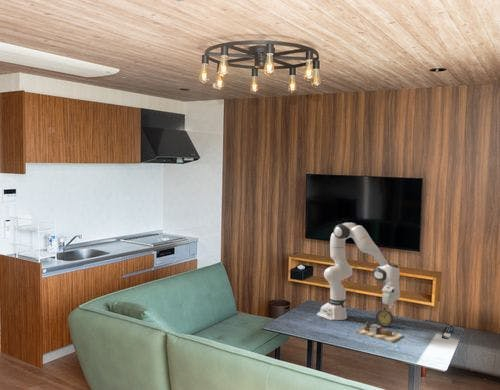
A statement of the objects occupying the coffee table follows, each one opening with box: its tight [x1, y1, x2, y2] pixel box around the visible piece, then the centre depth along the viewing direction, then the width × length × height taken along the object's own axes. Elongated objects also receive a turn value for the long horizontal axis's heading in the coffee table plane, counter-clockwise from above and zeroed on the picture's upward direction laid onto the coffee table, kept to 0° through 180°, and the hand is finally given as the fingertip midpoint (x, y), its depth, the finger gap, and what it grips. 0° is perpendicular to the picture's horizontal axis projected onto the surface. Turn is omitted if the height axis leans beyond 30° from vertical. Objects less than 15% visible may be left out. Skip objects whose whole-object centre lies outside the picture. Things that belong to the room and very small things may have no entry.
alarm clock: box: [375, 304, 394, 328], centre depth 335 cm, size 11×5×16 cm, turn 62°
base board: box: [356, 327, 404, 344], centre depth 318 cm, size 26×15×1 cm, turn 49°
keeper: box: [369, 323, 382, 334], centre depth 320 cm, size 5×6×4 cm
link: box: [363, 321, 393, 336], centre depth 319 cm, size 19×4×5 cm, turn 48°
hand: (391, 307), depth 321 cm, fingers closed
